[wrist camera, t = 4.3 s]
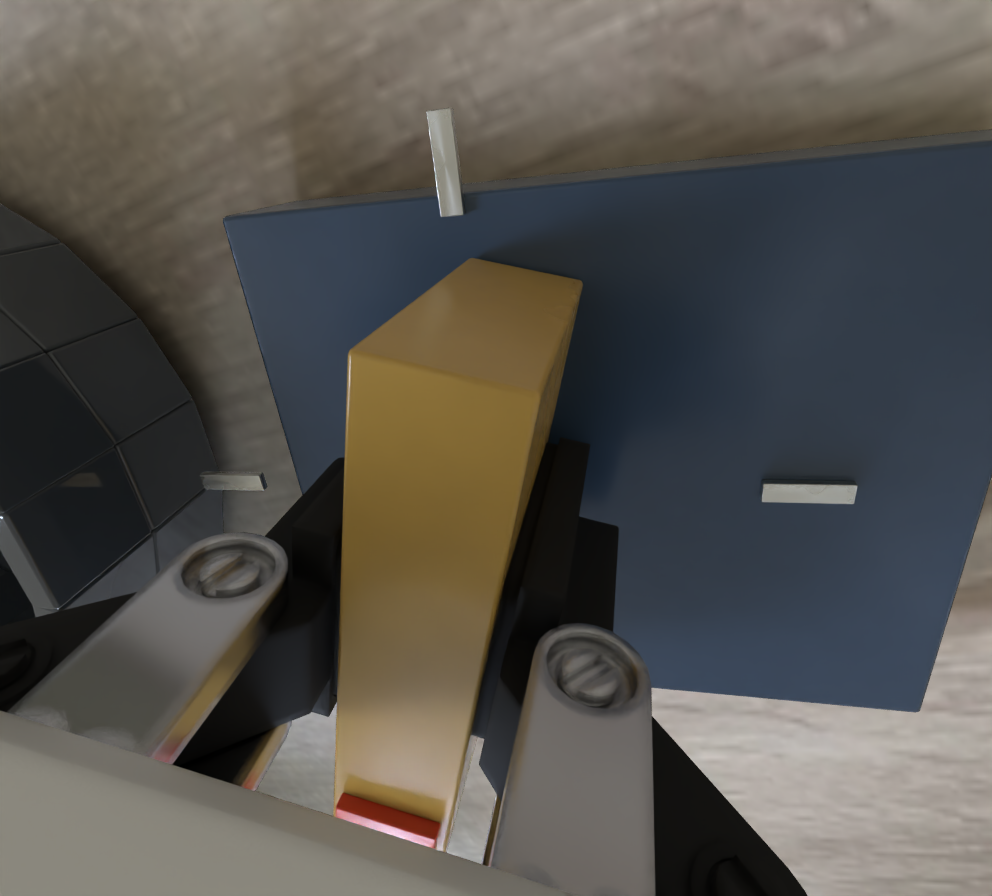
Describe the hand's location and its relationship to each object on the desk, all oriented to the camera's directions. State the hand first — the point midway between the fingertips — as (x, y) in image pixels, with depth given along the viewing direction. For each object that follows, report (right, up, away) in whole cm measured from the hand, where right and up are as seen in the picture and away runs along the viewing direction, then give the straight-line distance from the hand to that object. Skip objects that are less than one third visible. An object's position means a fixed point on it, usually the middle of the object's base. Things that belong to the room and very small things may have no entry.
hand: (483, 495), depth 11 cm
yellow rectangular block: (0, 0, 0) cm, 0 cm away
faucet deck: (+2, +1, +2) cm, 3 cm away
